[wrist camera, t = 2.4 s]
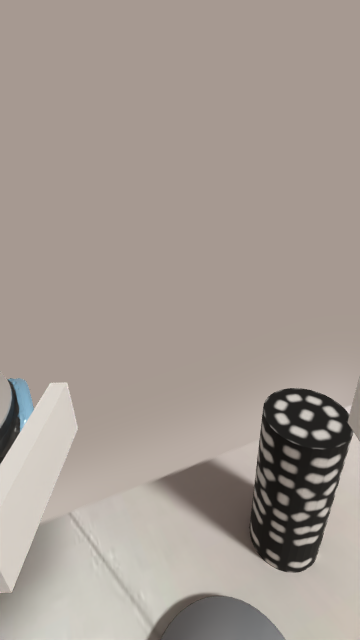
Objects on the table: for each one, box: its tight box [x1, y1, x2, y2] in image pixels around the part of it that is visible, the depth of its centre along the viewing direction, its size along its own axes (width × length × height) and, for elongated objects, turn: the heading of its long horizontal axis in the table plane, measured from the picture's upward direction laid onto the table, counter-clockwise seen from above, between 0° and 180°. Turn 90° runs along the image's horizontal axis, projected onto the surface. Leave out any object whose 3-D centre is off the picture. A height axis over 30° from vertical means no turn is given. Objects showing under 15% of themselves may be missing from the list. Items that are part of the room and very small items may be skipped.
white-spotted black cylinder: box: [250, 388, 353, 573], centre depth 35 cm, size 8×8×20 cm
